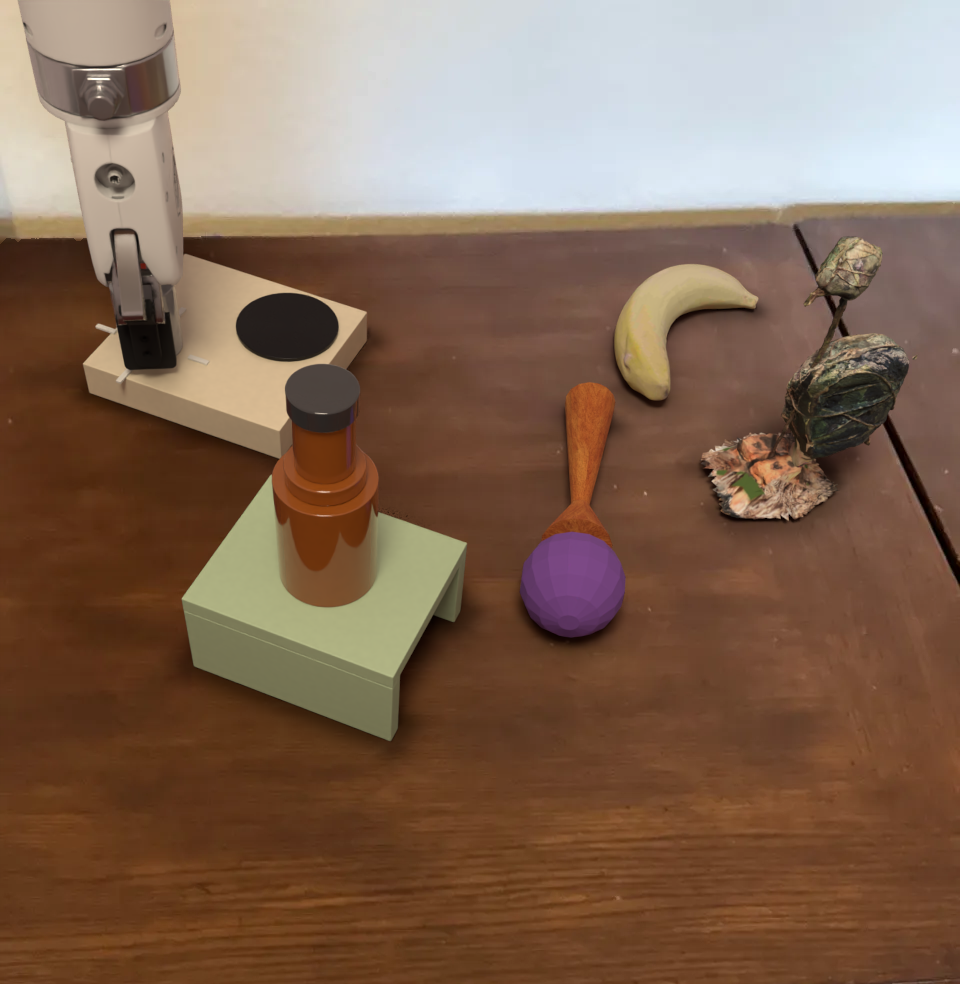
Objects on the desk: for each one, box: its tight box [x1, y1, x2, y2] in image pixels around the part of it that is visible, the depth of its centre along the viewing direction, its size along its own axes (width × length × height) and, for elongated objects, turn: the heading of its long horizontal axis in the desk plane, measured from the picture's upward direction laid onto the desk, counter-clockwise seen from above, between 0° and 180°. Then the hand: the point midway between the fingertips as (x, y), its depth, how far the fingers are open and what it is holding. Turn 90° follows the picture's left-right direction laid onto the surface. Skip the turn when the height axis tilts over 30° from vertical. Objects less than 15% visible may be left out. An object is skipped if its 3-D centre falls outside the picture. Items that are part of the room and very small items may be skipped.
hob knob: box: [108, 263, 183, 356], centre depth 80 cm, size 4×4×5 cm
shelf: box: [181, 474, 468, 742], centre depth 69 cm, size 12×10×6 cm
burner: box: [236, 293, 339, 362], centre depth 84 cm, size 7×7×1 cm
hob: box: [82, 253, 368, 460], centre depth 84 cm, size 15×14×3 cm
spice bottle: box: [271, 364, 380, 607], centre depth 62 cm, size 5×5×13 cm
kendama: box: [519, 381, 627, 638], centre depth 76 cm, size 6×6×20 cm
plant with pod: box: [699, 235, 918, 522], centre depth 74 cm, size 8×11×20 cm
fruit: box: [613, 263, 759, 401], centre depth 89 cm, size 7×15×3 cm, turn 145°
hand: (151, 334), depth 81 cm, fingers open, 5 cm apart
